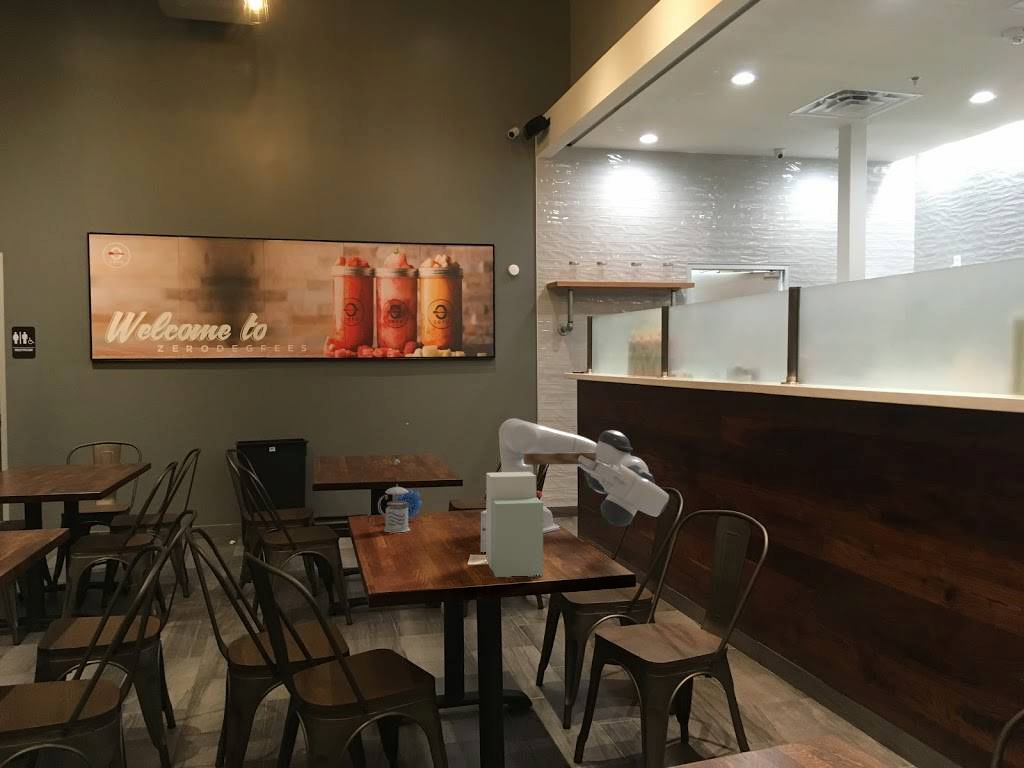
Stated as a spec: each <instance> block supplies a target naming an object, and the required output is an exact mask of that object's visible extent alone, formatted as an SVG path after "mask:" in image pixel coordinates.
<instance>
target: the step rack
mask: <svg viewBox="0 0 1024 768" xmlns="http://www.w3.org/2000/svg"><path fill="white" fill-rule="evenodd" d="M485 474H486V477H485V478H486V482H485V483H486V491H485V492H486V504H485V505H486V507H485V508H486V509H485V510H486V553H485V555H486V557H485V558H486V560H487V561H486V560H485V561H486V563H487V562H488V563H487V565H488V564H489V565H488V566H489V568H490V570H491V571H493V572H492V574H493V573H494V574H493V576H494V577H495V576H496V577H506V578H510V577H509V576H528V577H543V576H544V533H543V506H544V502H543V501H542V500H541V499H539V497H537V496H536V492H537V475H536V474H534V473H533V474H532V473H531V472H502V471H501V472H500V471H499V472H498V471H497V472H496V471H495V472H486V473H485ZM534 575H535V576H534ZM536 575H537V576H536ZM539 575H540V576H539ZM496 577H495V578H496Z"/></svg>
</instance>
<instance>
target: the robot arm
mask: <svg viewBox="0 0 1024 768" xmlns="http://www.w3.org/2000/svg"><path fill="white" fill-rule="evenodd" d="M498 441H499V442H498V443H499V455H500V456H499V457H500V465H501V467H500V468H501V472H531V473H532V474H534V465H525V464H524V453H546V452H595V453H596V460H594V462H593V461H592V460H589V459H587V458H585V457H584V456H582V455H579V456H578V458H577V461H579V462H581V463H583V464H567V466H568V465H569V466H574V467H580V468H581V469H582V470H583V471H584V473H583V475H584V477H586V482H587V484H588V486H589V488H590V489H592V490H594V491H595V492H596V493H599V494H607V496H606V498H605V499H604V500H603V501H602V503H601V504H600V511H601V515H602V517H603V518H604V519H605V520H606V521H607V522H608V523H610V524H612V525H614V526H616V527H619V528H621V527H625V526H628V525H631V523H632V521H633V519H634V517H635V515H636V513H637V512H638V511H639V512H641V513H644V514H646V515H649V516H650V517H655V518H656V517H659V516H660V515H661V514H662V513H663V512H664V511H665V508H667V506H668V503H669V501H670V500H669V499H670V495H669V494H668V493H667V492H666V491H665V490H663V489H662V488H661V487H660V486H658V485H656V483H655V482H656V481H655V478H654V475H653V474H652V473H651V472H650V471H649V470H650V469H649V468H648V465H647V464H646V462H645V461H644V460H643V459H641V458H640V457H637V456H636V455H635V456H634V455H631V451H633V447H631V443H630V440H629V438H628V437H627V436H626V435H624V434H623V433H622V432H620V431H618V430H613V429H611V430H610V429H609V430H604V431H602V432H601V434H600V435H599V437H598V442H595V441H593V440H591V439H589V438H587V437H585V436H582V435H579V434H576V433H572V432H569V431H565V430H561V429H557V428H552V427H549V426H545V425H542V424H538V423H534V422H530V421H526V420H522V419H520V418H514V417H513V418H509V419H506V420H505V421H504V422H503V423H501V424H500V427H499V429H498ZM543 496H544V494H543V492H542V491H539V490H536V497H537V498H542V497H543ZM559 527H560V525H558V524H556V523H554V518H553V514H552V511H551V510H550V509H548V508H547V507H546V506H545V505H543V534H544V533H550V532H553V531H559V530H560V528H559Z"/></svg>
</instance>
